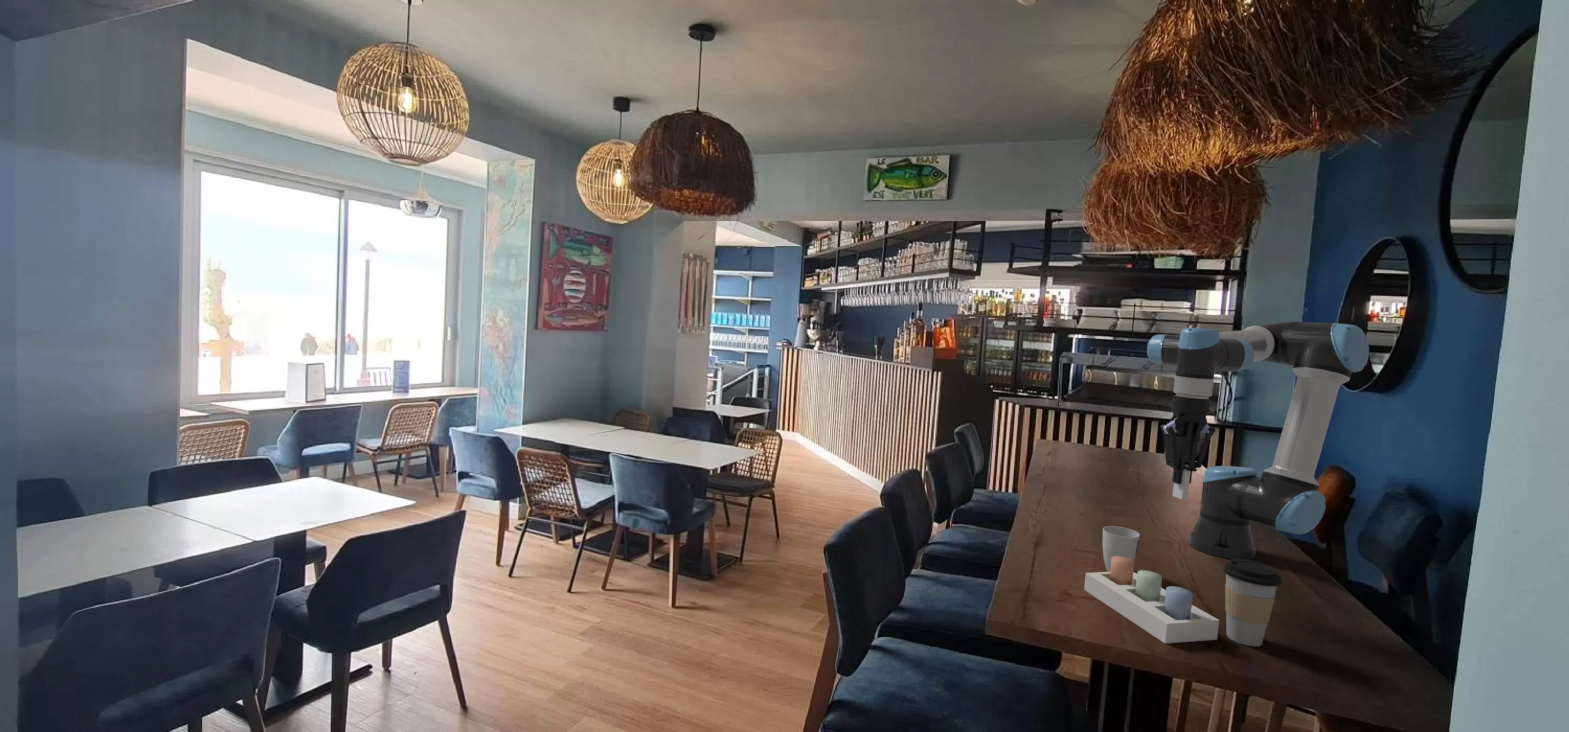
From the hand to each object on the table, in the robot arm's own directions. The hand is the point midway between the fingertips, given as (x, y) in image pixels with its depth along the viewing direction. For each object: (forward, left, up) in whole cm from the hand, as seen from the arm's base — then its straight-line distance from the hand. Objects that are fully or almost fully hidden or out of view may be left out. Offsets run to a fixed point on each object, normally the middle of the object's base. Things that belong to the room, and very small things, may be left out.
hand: (1179, 497), depth 152 cm
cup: (+6, -11, -22) cm, 25 cm away
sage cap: (+16, +10, -18) cm, 26 cm away
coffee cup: (+4, +23, -22) cm, 32 cm away
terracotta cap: (+16, +2, -18) cm, 24 cm away
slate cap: (+16, +18, -18) cm, 30 cm away
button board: (+16, +10, -22) cm, 29 cm away
